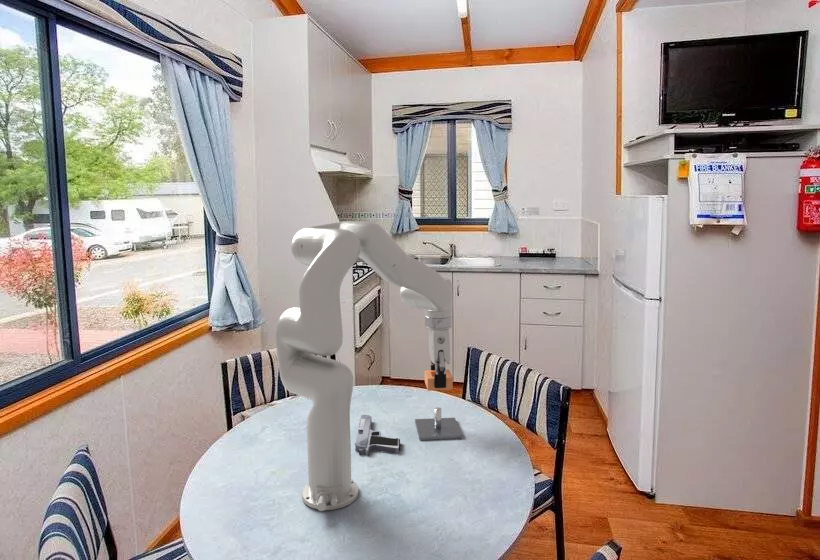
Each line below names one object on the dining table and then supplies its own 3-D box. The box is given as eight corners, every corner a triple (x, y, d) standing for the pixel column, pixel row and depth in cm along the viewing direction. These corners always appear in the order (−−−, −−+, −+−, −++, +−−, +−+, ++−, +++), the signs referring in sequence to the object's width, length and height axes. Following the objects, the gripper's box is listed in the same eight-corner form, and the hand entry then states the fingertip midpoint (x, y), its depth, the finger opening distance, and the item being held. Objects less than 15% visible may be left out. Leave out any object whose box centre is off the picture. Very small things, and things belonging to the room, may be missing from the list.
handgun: (400, 414, 160) (360, 414, 160) (399, 449, 138) (353, 449, 138) (400, 421, 160) (360, 421, 160) (399, 458, 138) (353, 458, 138)
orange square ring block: (452, 389, 148) (452, 377, 147) (427, 390, 147) (427, 378, 147) (448, 381, 155) (448, 369, 154) (424, 381, 154) (424, 370, 154)
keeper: (462, 438, 148) (462, 416, 147) (419, 440, 147) (419, 418, 146) (454, 420, 160) (454, 400, 159) (415, 422, 158) (415, 401, 157)
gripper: (457, 329, 140) (456, 393, 143) (446, 314, 157) (446, 372, 160) (428, 330, 139) (429, 394, 142) (421, 315, 156) (421, 373, 159)
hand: (438, 382), depth 151 cm, fingers closed on orange square ring block, 7 cm apart
